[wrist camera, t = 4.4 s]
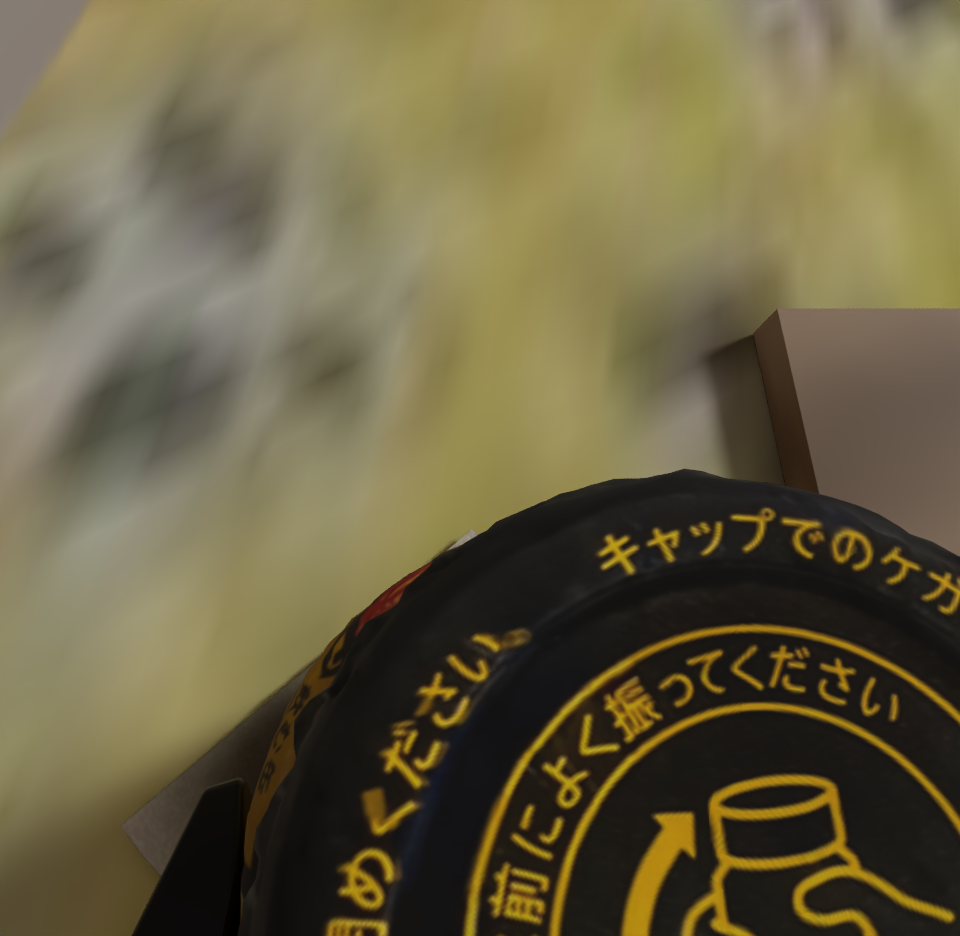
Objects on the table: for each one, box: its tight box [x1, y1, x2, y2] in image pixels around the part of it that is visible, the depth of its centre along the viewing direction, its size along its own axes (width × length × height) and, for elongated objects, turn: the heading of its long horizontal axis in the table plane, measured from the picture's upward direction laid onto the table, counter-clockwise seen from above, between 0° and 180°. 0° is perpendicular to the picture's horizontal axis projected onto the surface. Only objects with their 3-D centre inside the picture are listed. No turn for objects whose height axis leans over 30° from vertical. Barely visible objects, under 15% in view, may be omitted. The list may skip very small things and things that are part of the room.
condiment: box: [121, 469, 960, 936], centre depth 9 cm, size 7×8×12 cm
